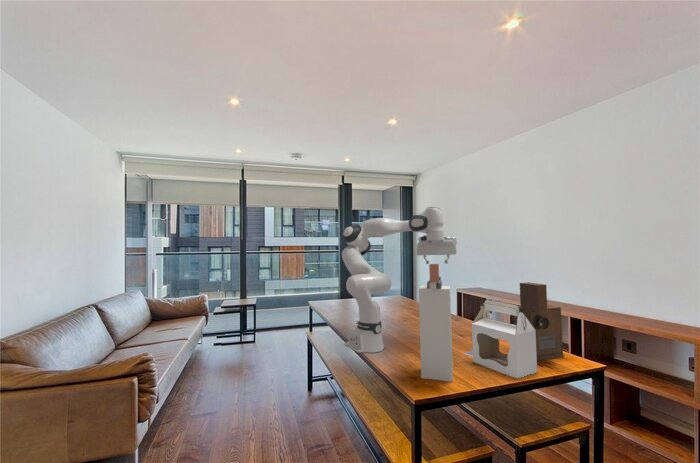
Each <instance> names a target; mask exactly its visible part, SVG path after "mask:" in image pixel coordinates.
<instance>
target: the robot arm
mask: <svg viewBox="0 0 700 463" xmlns="http://www.w3.org/2000/svg"><path fill="white" fill-rule="evenodd" d="M401 232H403V233H404V232H415V233H422V234H424V235H422V236H420V237H418V238H417V240H418V242H417V244H416V255H417V256H423V259H424V260H425V264H426V265H429V264H430V261H429V260H427V256H446V257H447V258H446V259H445V260H444V265H446V264H447V265H448V263H449V262H448V261H449V259H450V256H451V255H456V254H457V243H458V242H457V239H456V237H454V236H445V231H444V215H443V210H442V209H441V208H440V207H434V206H428V207H426V208H425V209H424V210H423V211H421V212H419V213H417V214H414V215H411V217H410V218H409V220H397V219H393V218H387V217H375V218H370V219H366V220H364V221H363V222H361V224H354V225H353V224H352V225H351V224H350V225H349V226H347V227H345V228H344V229H343V231H342V234H341V236H342V239H343V240H344V242H346V244H347V246H346V247H345V248H344V249H343V250H342V251H341V258H342V261H343V263H344V265H345V267H346V269H347V271H348V272H349V274H350V276H349V277H348V278H347V280H346V284H345V285H346V287H345V288H346V291H347V292H348V293H349V295H351V296H352V297H353V298H354V299H355V301H356V302H357V305H358V312H359V313H358V315H359V316H358V318H359V320H358V321H356V322H355V324H356V325H357V326H356V328H355V329H353V330H352V331H351V332H350V333H349V335H348V341H345V342H344V343H343V346H344V347H347V348H348V349H350V350H352V351H354V352H355V353H360V354H362V353H368V354H369V353H370V354H371V353H378V352H382V351H384V350H385V346H384V342H383V334H382V321H381V306H380V305H379V304H378V303H377V302H376V301H374V300H373V298H372V295H376V294H377V295H380V294H383V293H386V292H389V291H390V289H391V286H392V279H391V277H390V276H389V274H387V273H384V272H381V271H379V270H378V269H376V268H374V267H373V266H372V265H370V264H369V263H368V262H367V261H366V259H365V258H364V255H366V254H367V253H368V252H369V251H370V250H371V249H372V248H371V247H372V245H371V242H370V240H369V239H370V238H372V237H373V238H374V237H375V238H378V237H386V236H390V235H392V234H397V233H401ZM383 349H384V350H383Z"/></svg>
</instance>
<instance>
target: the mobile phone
mask: <svg viewBox="0 0 700 463" xmlns="http://www.w3.org/2000/svg"><path fill="white" fill-rule="evenodd" d="M464 355H465V356H466V355H467V356H469V357H472V358H473V349H471V350H469V351H466V352H464Z"/></svg>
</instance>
